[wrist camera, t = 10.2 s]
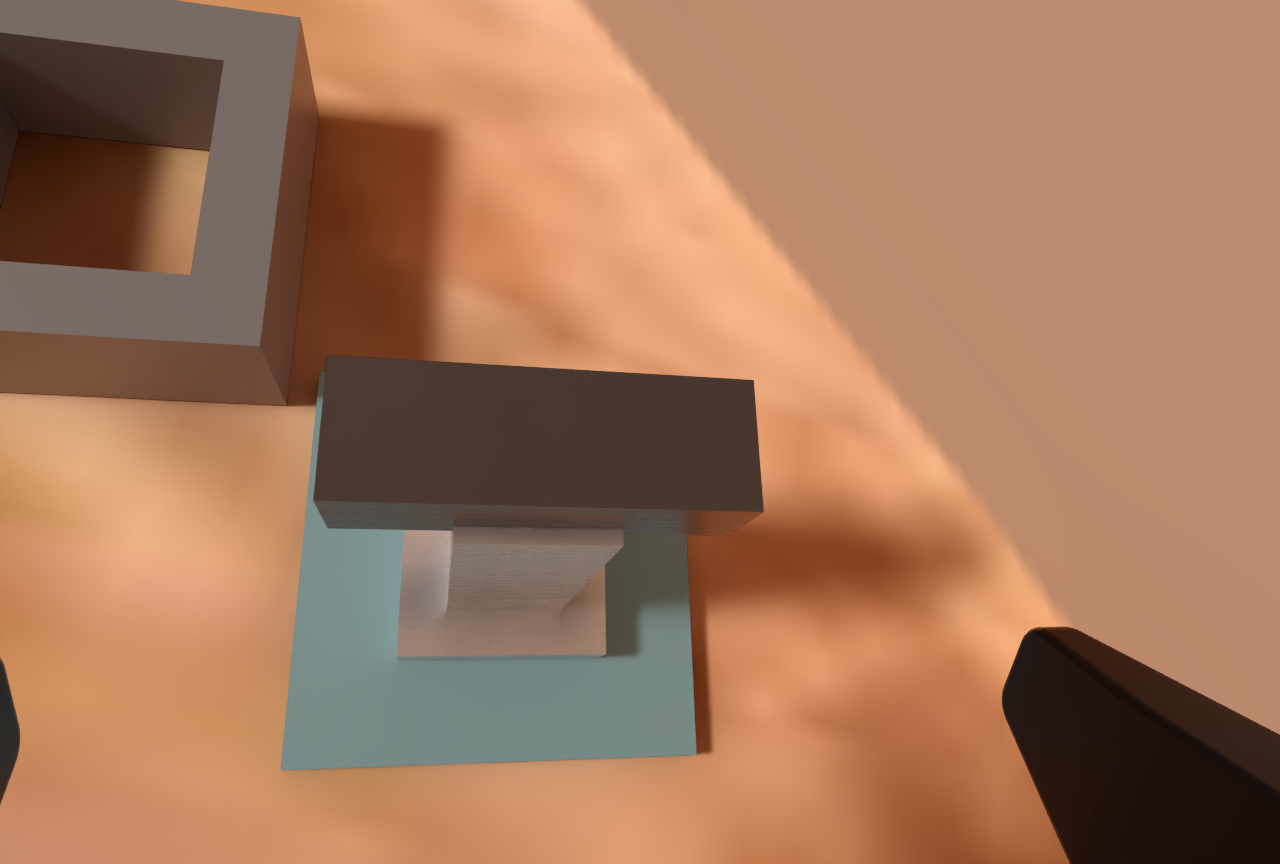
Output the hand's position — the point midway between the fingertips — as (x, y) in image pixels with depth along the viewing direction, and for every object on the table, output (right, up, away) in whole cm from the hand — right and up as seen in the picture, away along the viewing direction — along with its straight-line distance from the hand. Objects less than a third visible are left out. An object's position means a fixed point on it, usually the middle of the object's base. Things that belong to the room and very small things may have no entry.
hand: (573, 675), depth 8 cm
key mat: (-3, -1, +13) cm, 14 cm away
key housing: (-12, +7, +14) cm, 20 cm away
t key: (-3, -1, +13) cm, 13 cm away
